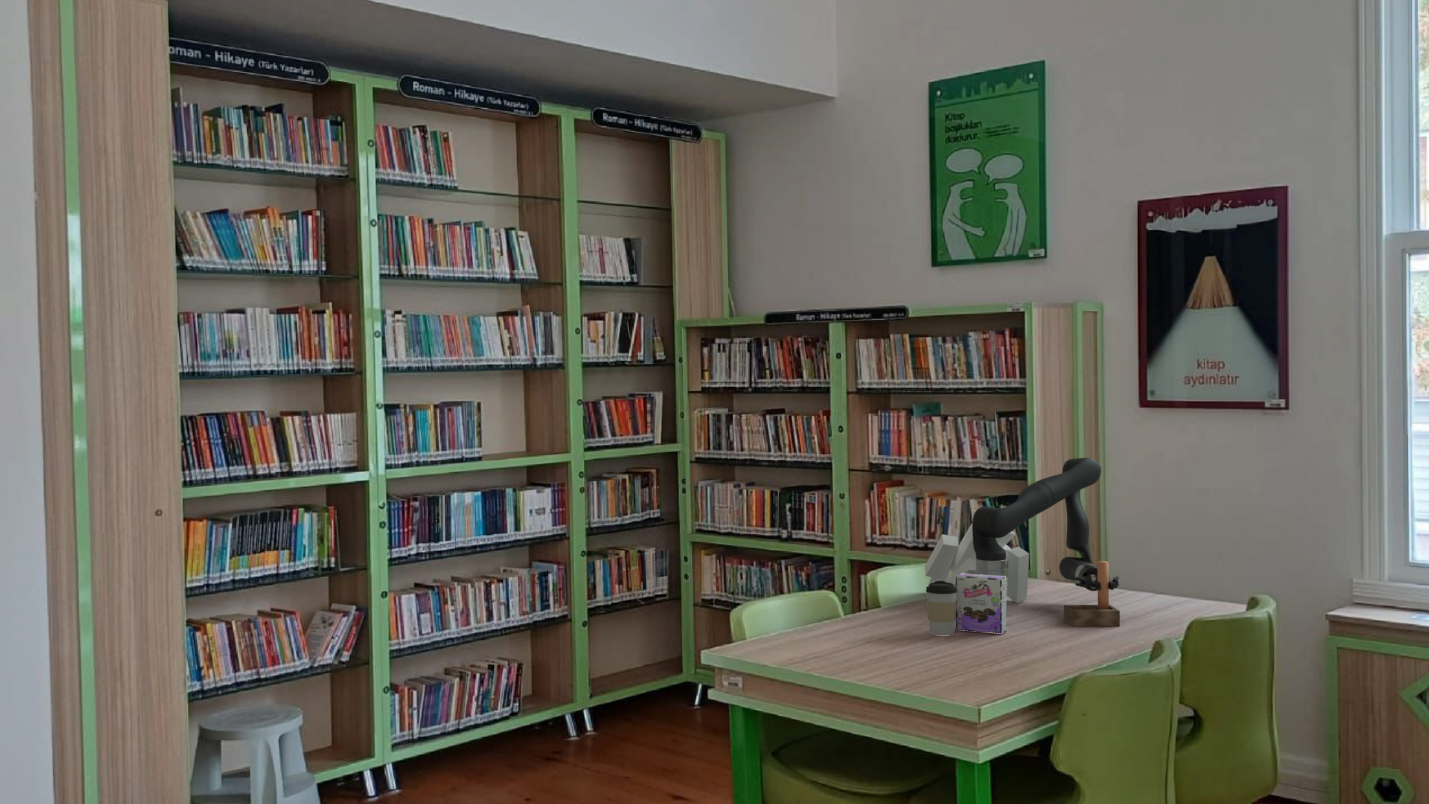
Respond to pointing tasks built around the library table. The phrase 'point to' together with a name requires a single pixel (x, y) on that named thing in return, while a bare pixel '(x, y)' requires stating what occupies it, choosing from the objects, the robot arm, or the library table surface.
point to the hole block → (1091, 615)
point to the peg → (1103, 584)
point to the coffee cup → (941, 607)
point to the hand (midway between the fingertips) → (1105, 586)
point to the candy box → (981, 603)
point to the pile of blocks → (964, 561)
